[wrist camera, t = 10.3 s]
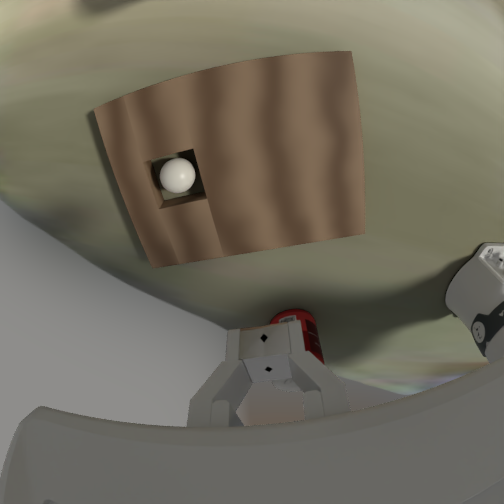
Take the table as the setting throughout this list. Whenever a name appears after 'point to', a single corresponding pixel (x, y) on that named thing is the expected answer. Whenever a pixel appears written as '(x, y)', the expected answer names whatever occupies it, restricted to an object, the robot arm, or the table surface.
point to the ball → (177, 175)
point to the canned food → (308, 336)
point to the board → (243, 156)
